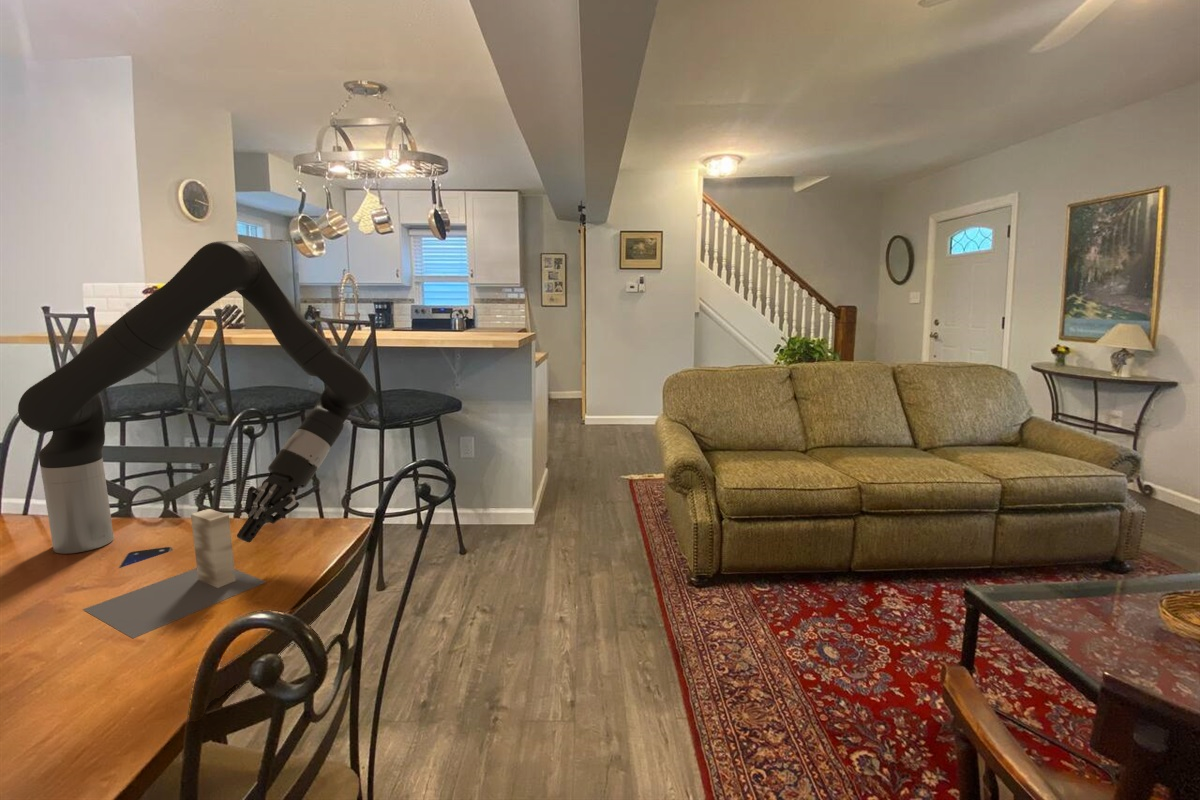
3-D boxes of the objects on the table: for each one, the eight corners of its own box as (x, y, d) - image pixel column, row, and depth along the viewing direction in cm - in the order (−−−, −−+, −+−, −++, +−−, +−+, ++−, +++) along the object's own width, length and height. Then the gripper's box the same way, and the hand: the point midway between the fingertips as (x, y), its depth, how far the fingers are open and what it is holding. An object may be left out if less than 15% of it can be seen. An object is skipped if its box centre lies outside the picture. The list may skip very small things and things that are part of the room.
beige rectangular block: (198, 579, 104) (190, 514, 102) (217, 572, 107) (210, 508, 105) (217, 587, 101) (210, 520, 99) (236, 580, 104) (230, 514, 102)
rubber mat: (83, 614, 94) (82, 609, 94) (215, 565, 111) (215, 561, 111) (133, 643, 86) (132, 638, 86) (267, 586, 103) (267, 581, 103)
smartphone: (173, 545, 119) (159, 576, 105) (174, 550, 119) (159, 582, 106) (127, 551, 115) (106, 584, 102) (127, 556, 115) (106, 590, 102)
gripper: (265, 443, 116) (205, 523, 108) (308, 452, 110) (248, 538, 101) (292, 463, 121) (237, 541, 113) (335, 473, 115) (280, 556, 107)
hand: (243, 539), depth 107 cm, fingers closed
